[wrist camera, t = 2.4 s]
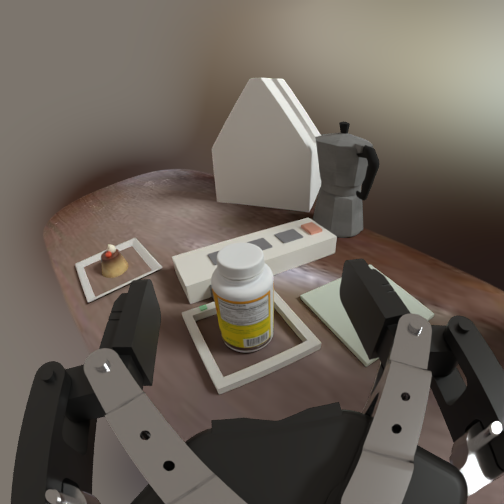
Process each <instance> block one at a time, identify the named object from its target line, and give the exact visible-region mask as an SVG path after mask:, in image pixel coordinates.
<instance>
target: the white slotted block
mask: <svg viewBox="0 0 504 504" xmlns="http://www.w3.org/2000/svg"><path fill="white" fill-rule="evenodd" d="M317 136H321V135H320V134H319V132H318V130H317V128H316V127H315V125H314V124H313V122H312V121H311V119H310V117H309V116H308V114H307V113H306V111H305V110H304V108H303V107H302V105H301V104H300V102H299V101H298V99H297V98H296V96H295V95H294V93H293V92H292V90H291V89H290V88H289V86H288V85H287V83H286V82H285V81H284V79H271V78H250V80H249V81H248V83H247V84H246V86H245V88H244V90H243V92H242V94H241V95H240V97H239V99H238V101H237V102H236V104H235V106H234V108H233V110H232V111H231V113H230V115H229V117H228V119H227V120H226V122H225V124H224V126H223V128H222V130H221V132H220V134H219V136H218V138H217V139H216V141H215V143H214V145H213V147H212V157H213V168H214V178H215V188H216V197H217V202H223V203H233V204H243V205H252V206H261V207H270V208H278V209H287V210H295V211H302V212H310V209H311V208H312V205H313V203H314V201H315V198H316V196H317V194H318V192H319V189H320V187H321V179H320V172H319V163H318V154H317V146H316V138H315V137H317Z"/></svg>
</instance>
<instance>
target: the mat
mask: <svg viewBox="0 0 504 504" xmlns="http://www.w3.org/2000/svg"><path fill="white" fill-rule="evenodd" d="M368 266H369V267H370V268H371V269H376V268H374V267H373V266H371V265H368ZM376 270H377V269H376ZM377 271H378V270H377ZM378 272H380V271H378ZM380 273H381V272H380ZM381 274H382V273H381ZM383 275H384V274H383ZM384 276H385V275H384ZM385 278H386V279H387V280H388V282H389V283H390V285H391V286H392V287H393V289H394V291H396V293H397V294H398V295H399V297H400V298H401V300H402V301H403V303H404V304H405V305H406V307H407V308H408V310H409V311H410V313H412V314H418V315H420V316H422V317H424V318H425V319H426V320H427V321H429V320H430V319H431V318H432V317H433V316H434V313H433V312H431V311H430V310H429V309H428V308H426V307H425V306H424V305H423V304H421V303H420V302H419V301H418V300H416V299H415V298H414V297H412V296H411V295H410V294H409V293H407V292H406V291H405V290H403V289H402V288H401V287H399V286H398V285H397V284H396V283H394V282H393V281H392V280H390V279H389V278H388V277H386V276H385ZM341 279H342V278H340V279H337V280H335V281H333V282H330V283H328V284H326V285H323V286H321V287H319V288H316V289H314V290H312V291H309V292H307V293H305V294H302V295H300V299H301V300H302V301H303V302H304V303H305V304H306V305H307V306H308V307H309V308H310V309H311V310H312V311H313V312H314V313H315V314H316V315H317V316H318V317H319V318H320V319H321V320H322V321H323V322H324V323H325V325H326V326H327V327H328V328H329V329H330V330H331V331H332V332H333V333H334V334H335V335H336V336H337V337H338V338H339V339H340V340H341V341H342V342H343V343H344V344H345V345H346V346H347V347H348V348H349V350H350V351H351V352H352V353H353V354H354V355H355V356H356V357H357V358H358V359H359V360H360V361H361V362H362V363H363V364H364V365H365V366H366V367H367V366H368V365H370V364H371V363H373V362H374V361H376V360H377V359H379V358H375V359H371V360H369V358H368V356H367V354H366V352H365V350H364V348H363V345H362V343H361V341H360V339H359V337H358V335H357V333H356V331H355V329H354V327H353V325H352V323H351V321H350V319H349V317H348V315H347V313H346V311H345V309H344V307H343V305H342V303H341V300H340V284H341Z"/></svg>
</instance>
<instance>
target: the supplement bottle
mask: <svg viewBox="0 0 504 504" xmlns="http://www.w3.org/2000/svg"><path fill="white" fill-rule="evenodd" d="M211 285H212V291H213V296H214V302H215V307H216V312H217V317H218V322H219V327H220V332H221V337H222V339H223V341H224V343H225V344H226V345H227V346H228V347H229V348H231V349H233V350H235V351H238V352H246V353H248V352H255V351H258V350H260V349H262V348H263V347H265V346H266V345H267V344H268V343H269V342H270V341H271V339H272V336H273V332H274V278H273V273H272V270H271V269H270V267H269V266H268V265H267V264H265V262H264V254H263V251H262V250H261V248H260V247H258V246H256V245H254V244H251V243H234V244H230V245H227V246H225V247H223V248H222V249H221V250H220V251H219V252H218V254H217V268H216V269H215V270H214V272H213V274H212V277H211Z"/></svg>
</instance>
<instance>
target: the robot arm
mask: <svg viewBox="0 0 504 504" xmlns="http://www.w3.org/2000/svg"><path fill="white" fill-rule="evenodd" d="M340 300H341V303H342V305H343V307H344V309H345V311H346V313H347V315H348V317H349V319H350V321H351V323H352V325H353V327H354V329H355V331H356V333H357V335H358V337H359V339H360V341H361V343H362V345H363V348H364V350H365V352H366V354H367V356H368V358H369V360H371V359H375V358H379V359H380V361H381V363H380V365H379V368H378V371H377V374H376V377H375V380H374V383H373V386H372V389H371V392H370V395H369V397H368V400H367V403H366V405H365V407H364V409H363V411H362V413H360V412H356V411H351V410H341V407H340V404H339V402H336V403H332V404H328V405H323V406H318V407H313V408H309V409H306V410H304V411H302V412H299V413H297V414H295V415H292V416H290V417H287V418H285V419H282V420H279V421H270V420H259V419H250V418H236V419H224V420H212V428H211V429H207V430H205V431H202V432H200V433H198V434H196V435H194V436H193V437H191V438H190V439H188V440H187V441H186V442H184V441H183V440H182V439H181V438H180V437H179V435H178V434H177V433H176V432H175V431H174V430H173V428H172V427H171V426H170V425H169V424H168V422H167V421H166V420H165V419H164V417H163V416H162V415H161V414H160V412H159V411H158V410H157V408H156V407H155V406H154V405H153V403H152V402H151V401H150V399H149V398H148V397H147V395H146V394H145V393H144V392H143V391H142V390H143V386H152V382H153V373H154V365H155V358H156V350H157V343H158V336H159V330H160V323H161V312H160V307H159V304H158V301H157V297H156V294H155V291H154V287H153V284H152V281H151V280H150V279H144V280H133V281H132V282H131V285H130V288H129V291H128V293H122V294H121V295H120V296H119V297H118V299H117V300H116V301H115V302H114V305H113V308H112V311H111V313H110V316H109V321H108V322H107V326H106V329H105V332H104V335H103V338H102V341H101V345H100V348H99V349H98V350H96V351H94V352H92V353H91V354H90V355H89V356H88V357H87V359H86V360H85V363H84V365H81V366H77V367H73V368H69V369H64V367H63V366H62V365H61V364H60V363H58V362H55V361H52V362H48V363H45V364H44V365H42V366H41V367H40V368H39V369H38V371H37V373H36V375H35V378H34V381H33V384H32V388H31V391H30V395H29V398H28V402H27V406H26V410H25V414H24V418H23V422H22V427H21V431H20V436H19V441H18V447H17V453H16V460H15V466H14V474H13V483H12V494H11V504H101V503H100V502H99V500H98V499H97V498H96V497H95V496H93V495H92V473H93V471H92V470H93V455H94V442H95V432H96V422H97V418H100V417H106V420H107V422H108V423H109V425H110V427H111V428H112V430H113V432H114V433H115V435H116V437H117V438H118V440H119V441H120V443H121V445H122V446H123V448H124V449H125V451H126V452H127V454H128V455H129V457H130V458H131V460H132V461H133V462H134V464H135V465H136V467H137V468H138V469H139V471H140V472H141V473H142V475H143V476H144V478H145V479H146V480H147V482H148V483H149V484H148V485H147V486H146V487H145V488H144V490H143V491H142V492H141V493H140V494H139V495H138V496H137V497H136V498H135V499H134V501H133V502H132V503H131V504H466V503H467V497H468V496H469V495H471V494H472V493H474V492H475V491H477V490H479V489H480V488H482V487H483V486H485V485H486V484H488V483H490V482H492V481H494V480H496V479H498V478H499V477H501V476H503V475H504V371H503V369H502V367H501V365H500V364H499V362H498V360H497V359H496V357H495V355H494V354H493V352H492V351H491V349H490V348H489V346H488V344H487V343H486V341H485V340H484V338H483V337H482V335H481V334H480V332H479V331H478V329H477V328H476V326H475V325H474V324H473V322H472V321H470V320H469V319H468V318H466V317H463V316H454V317H452V318H451V319H450V320H449V322H448V324H447V326H440V325H430V323H429V322H428V321H427V320H426V319H425V318H424V317H422V316H420V315H418V314H412V313H410V311H409V310H408V308H407V307H406V305H405V304H404V303H403V301H402V300H401V298H400V297H399V295H398V294H397V293H396V291H394V289H393V287H392V286H391V285H390V283H389V282H388V280H387V279H386V278H385V276H384V275H383V274H381V273H380V272H378V271H377V270H376V269H371V268H370V267H369V266H368V264H367V263H366V262H365V260H364V259H355V260H346V261H345V263H344V267H343V273H342V279H341V284H340ZM458 364H459V365H460V367H461V369H462V370H463V372H464V374H465V376H466V378H467V387H466V385H465V383H464V381H463V379H462V377H461V375H460V373H459V371H458V370H457V368H456V366H457V365H458ZM430 387H431V389H432V391H433V394H434V396H435V398H436V400H437V403H438V405H439V407H440V410H441V412H442V414H443V417H444V419H445V422H446V424H447V426H448V429H449V431H450V434H451V437H452V439H453V442H454V444H453V446H452V454H451V456H450V459H449V460H450V463H449V462H447V461H445V460H443V459H441V458H439V457H438V456H436V455H434V454H432V453H430V452H429V451H427V450H425V449H423V448H422V447H420V446H418V445H417V444H418V440H419V436H420V432H421V428H422V424H423V420H424V415H425V411H426V406H427V401H428V395H429V390H430Z"/></svg>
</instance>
